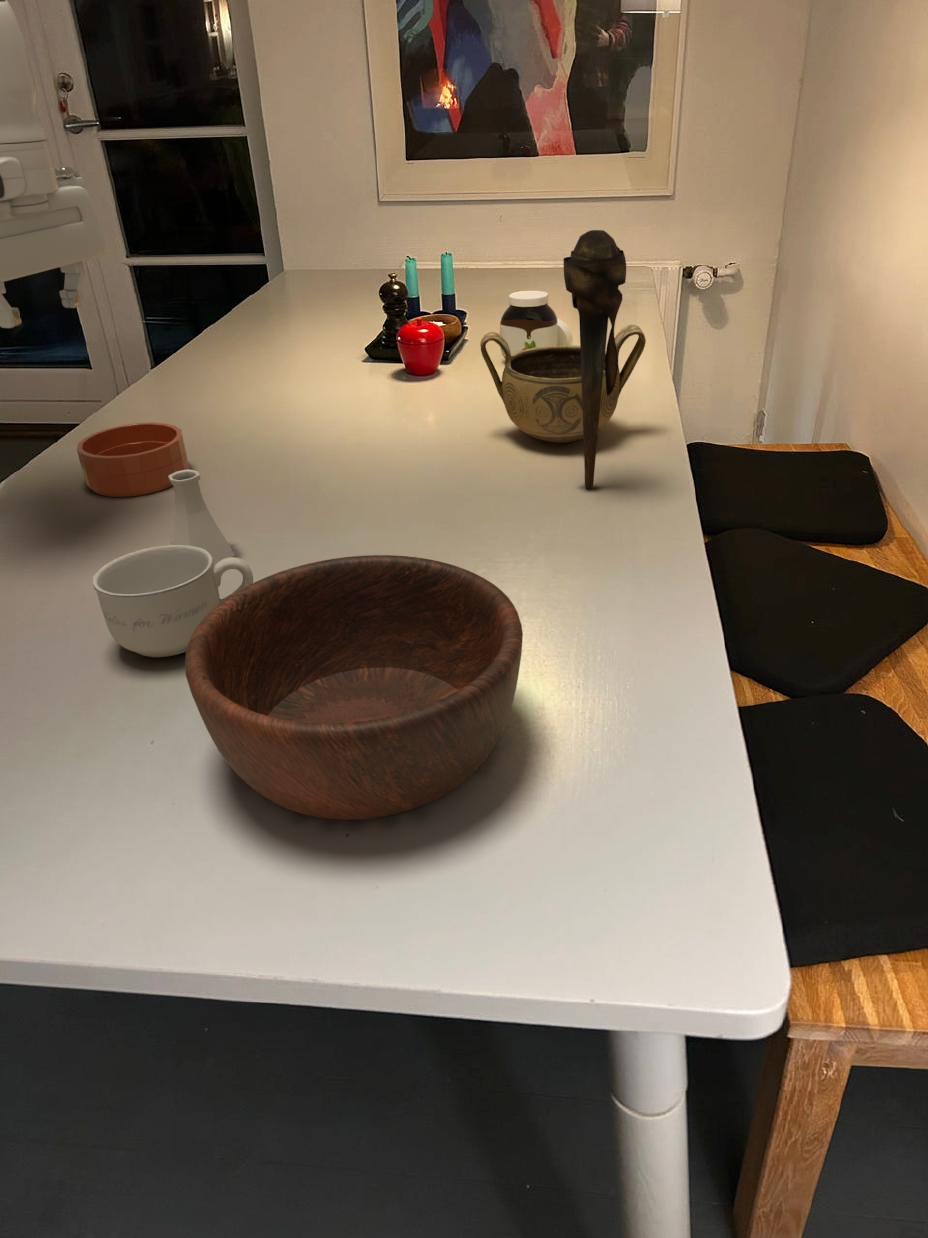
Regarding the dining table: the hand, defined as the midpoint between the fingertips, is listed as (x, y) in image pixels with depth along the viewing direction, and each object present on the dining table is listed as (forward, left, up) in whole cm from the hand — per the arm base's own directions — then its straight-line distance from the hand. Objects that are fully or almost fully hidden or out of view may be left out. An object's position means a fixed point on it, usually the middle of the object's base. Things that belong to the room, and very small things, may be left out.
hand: (43, 316), depth 99 cm
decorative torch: (+60, +6, -25) cm, 65 cm away
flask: (+15, -10, -25) cm, 31 cm away
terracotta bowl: (0, +15, -25) cm, 29 cm away
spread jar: (+57, +66, -25) cm, 91 cm away
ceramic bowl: (+58, +25, -25) cm, 68 cm away
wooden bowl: (+37, -43, -25) cm, 62 cm away
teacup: (+18, -27, -25) cm, 41 cm away
